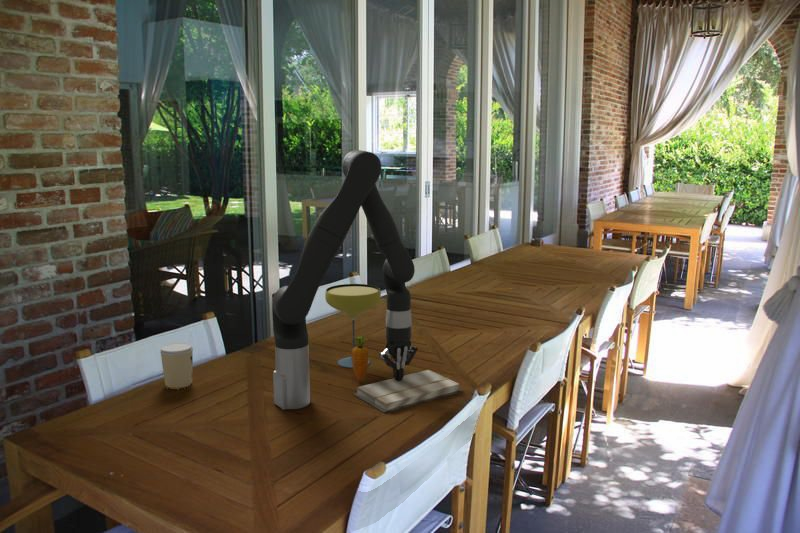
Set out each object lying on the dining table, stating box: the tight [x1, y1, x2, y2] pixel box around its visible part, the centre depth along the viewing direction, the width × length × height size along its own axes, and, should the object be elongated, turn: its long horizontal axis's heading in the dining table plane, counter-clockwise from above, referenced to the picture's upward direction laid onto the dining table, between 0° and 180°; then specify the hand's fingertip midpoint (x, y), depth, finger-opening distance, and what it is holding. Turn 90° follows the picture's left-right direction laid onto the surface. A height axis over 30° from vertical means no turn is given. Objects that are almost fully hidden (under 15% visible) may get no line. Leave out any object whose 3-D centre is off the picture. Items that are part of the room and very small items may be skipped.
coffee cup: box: [159, 342, 194, 388], centre depth 200 cm, size 9×9×12 cm
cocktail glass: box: [324, 283, 382, 369], centre depth 219 cm, size 18×18×25 cm
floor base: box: [353, 377, 464, 414], centre depth 195 cm, size 28×16×3 cm, turn 125°
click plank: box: [356, 369, 446, 403], centre depth 197 cm, size 26×9×2 cm, turn 125°
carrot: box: [351, 334, 369, 384], centre depth 202 cm, size 5×5×15 cm
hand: (398, 379), depth 199 cm, fingers closed
